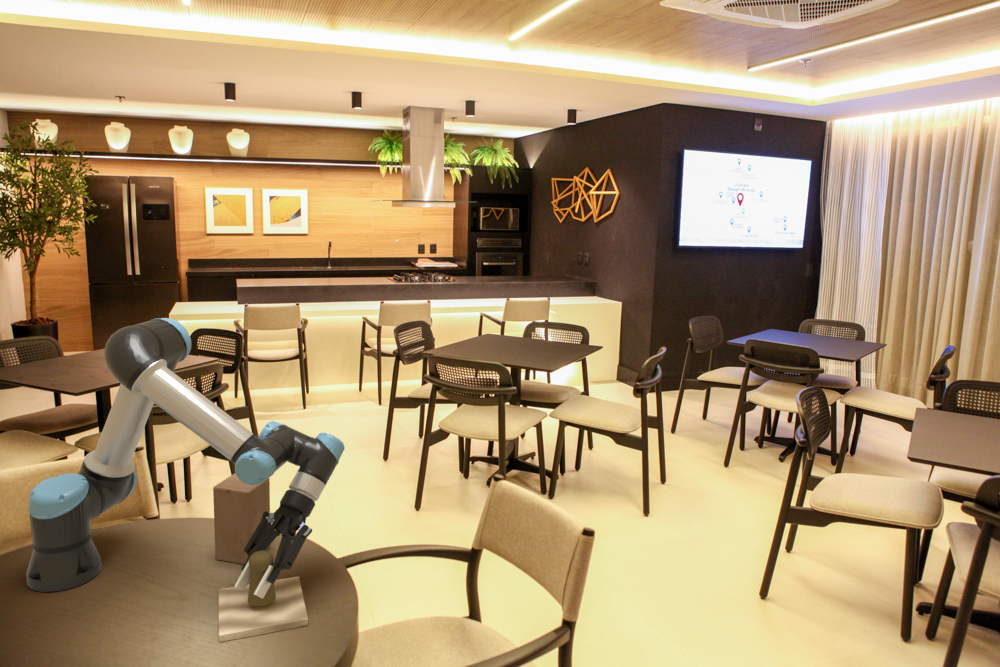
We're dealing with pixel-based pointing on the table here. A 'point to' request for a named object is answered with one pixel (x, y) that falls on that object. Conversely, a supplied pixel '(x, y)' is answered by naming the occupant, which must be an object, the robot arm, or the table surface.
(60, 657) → the table surface
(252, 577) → the olive pawn
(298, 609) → the birch board
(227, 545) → the wooden block
